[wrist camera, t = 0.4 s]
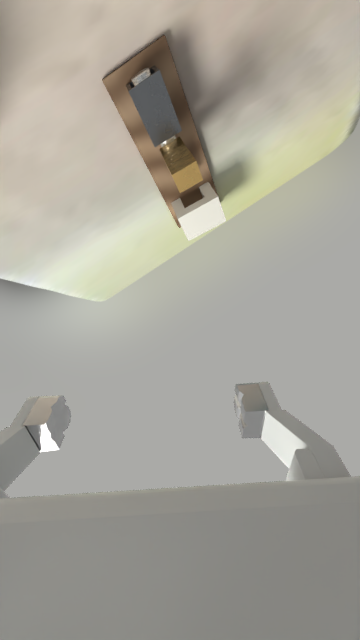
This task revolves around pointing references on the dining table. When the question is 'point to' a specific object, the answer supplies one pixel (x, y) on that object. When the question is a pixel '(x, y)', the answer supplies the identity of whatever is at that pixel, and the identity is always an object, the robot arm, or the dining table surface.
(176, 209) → the cream socket block
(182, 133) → the walnut base board
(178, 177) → the block rod assembly
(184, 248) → the dining table surface
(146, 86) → the dark gray block
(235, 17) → the dining table surface
